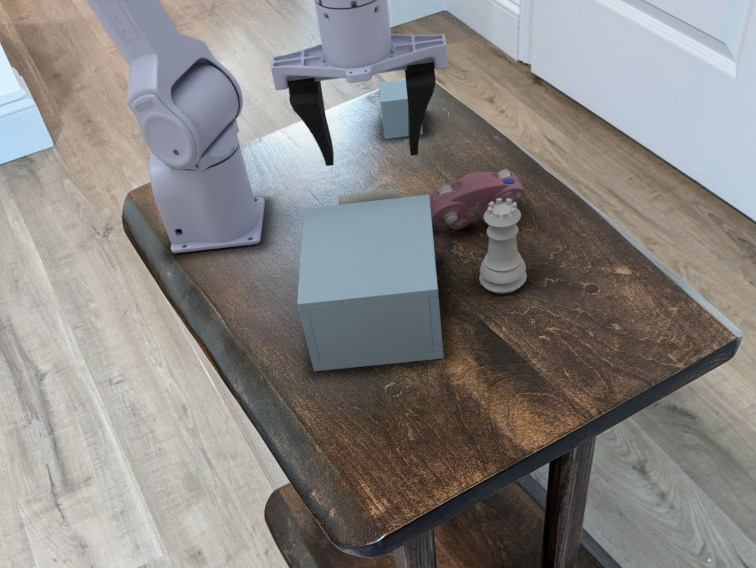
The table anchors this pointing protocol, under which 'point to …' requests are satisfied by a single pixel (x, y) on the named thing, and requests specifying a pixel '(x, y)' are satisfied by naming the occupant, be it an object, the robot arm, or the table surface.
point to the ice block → (394, 109)
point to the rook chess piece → (502, 249)
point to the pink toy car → (472, 196)
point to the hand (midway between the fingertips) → (371, 154)
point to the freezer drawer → (369, 196)
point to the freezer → (369, 284)
